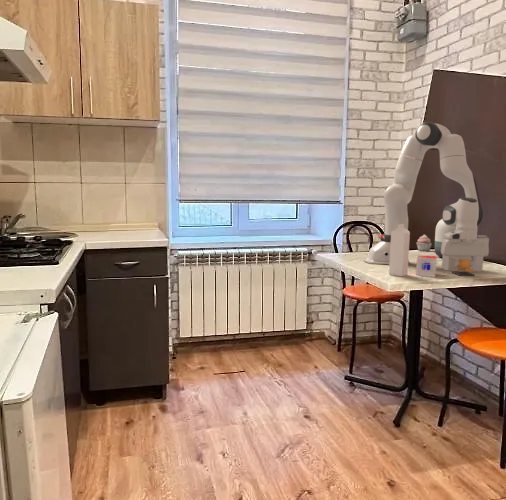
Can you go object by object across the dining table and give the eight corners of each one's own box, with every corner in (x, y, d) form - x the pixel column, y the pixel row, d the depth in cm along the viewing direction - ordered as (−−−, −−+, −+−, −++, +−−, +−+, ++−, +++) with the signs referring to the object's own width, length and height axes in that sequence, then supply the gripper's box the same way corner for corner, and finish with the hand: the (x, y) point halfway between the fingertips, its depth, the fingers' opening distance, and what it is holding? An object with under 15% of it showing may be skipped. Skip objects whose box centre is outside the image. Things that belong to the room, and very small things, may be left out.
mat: (458, 275, 216) (458, 274, 216) (451, 272, 223) (451, 271, 222) (474, 275, 216) (474, 274, 216) (467, 273, 223) (467, 271, 223)
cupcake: (421, 249, 305) (422, 233, 304) (434, 251, 298) (436, 234, 296) (412, 250, 300) (413, 234, 299) (425, 252, 292) (426, 235, 291)
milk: (407, 275, 216) (410, 224, 213) (401, 276, 211) (405, 225, 208) (394, 273, 219) (397, 223, 216) (388, 274, 215) (391, 224, 212)
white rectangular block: (448, 270, 228) (449, 248, 226) (441, 268, 234) (443, 246, 233) (482, 271, 228) (484, 248, 227) (474, 268, 235) (476, 247, 234)
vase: (470, 260, 262) (473, 215, 258) (436, 259, 265) (439, 214, 261) (462, 256, 278) (466, 213, 275) (431, 255, 281) (434, 212, 278)
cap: (451, 267, 225) (451, 257, 225) (461, 267, 226) (462, 257, 225) (465, 272, 212) (466, 261, 212) (476, 272, 213) (477, 261, 212)
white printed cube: (435, 273, 220) (436, 256, 219) (435, 276, 213) (436, 258, 212) (416, 272, 223) (417, 255, 222) (415, 275, 215) (416, 257, 214)
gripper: (485, 234, 221) (483, 265, 222) (440, 233, 220) (438, 264, 222) (492, 236, 214) (490, 267, 216) (446, 235, 213) (444, 267, 215)
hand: (463, 266), depth 219 cm, fingers closed on cap, 5 cm apart
